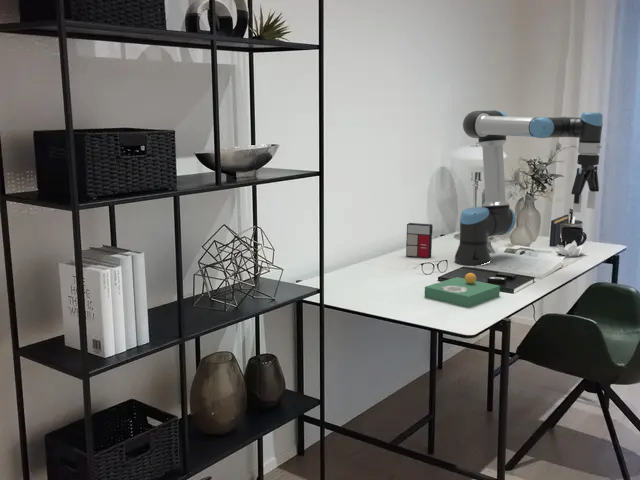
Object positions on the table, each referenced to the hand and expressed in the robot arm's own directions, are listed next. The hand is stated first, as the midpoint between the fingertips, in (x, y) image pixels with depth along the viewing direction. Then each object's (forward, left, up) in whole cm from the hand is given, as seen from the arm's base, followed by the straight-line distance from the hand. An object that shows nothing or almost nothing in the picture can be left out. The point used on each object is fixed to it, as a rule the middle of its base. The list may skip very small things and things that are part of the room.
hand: (583, 210), depth 253 cm
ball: (-19, -47, -22) cm, 55 cm away
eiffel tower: (-55, +18, -28) cm, 64 cm away
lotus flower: (-19, +33, -28) cm, 48 cm away
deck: (-19, -52, -28) cm, 62 cm away
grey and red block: (-70, -9, -28) cm, 76 cm away
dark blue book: (-34, +55, -28) cm, 71 cm away
